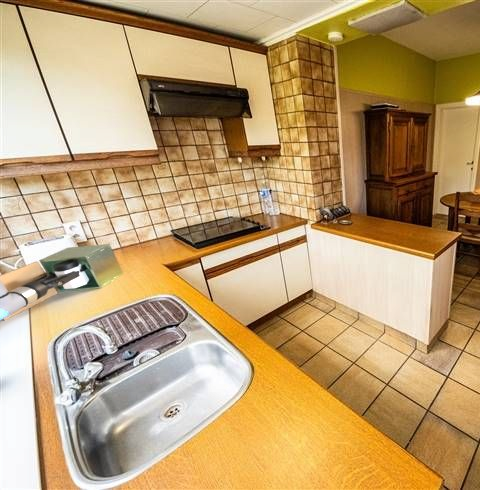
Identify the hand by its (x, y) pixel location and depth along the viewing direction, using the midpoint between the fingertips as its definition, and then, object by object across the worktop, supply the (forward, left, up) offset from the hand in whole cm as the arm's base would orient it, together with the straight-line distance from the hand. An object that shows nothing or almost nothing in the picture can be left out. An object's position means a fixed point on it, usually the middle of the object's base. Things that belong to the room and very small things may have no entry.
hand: (76, 267), depth 131 cm
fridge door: (-20, -5, -11) cm, 23 cm away
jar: (-2, -5, -7) cm, 9 cm away
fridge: (+2, +3, -11) cm, 11 cm away
